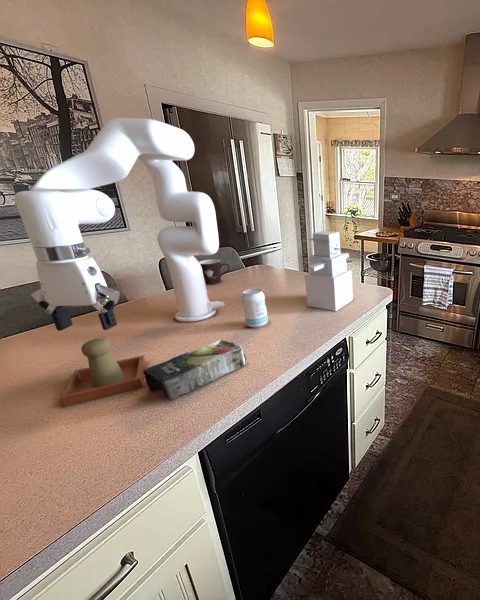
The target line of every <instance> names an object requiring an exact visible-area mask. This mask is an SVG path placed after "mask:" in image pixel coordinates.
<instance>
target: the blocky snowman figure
mask: <svg viewBox="0 0 480 600" xmlns="http://www.w3.org/2000/svg"><path fill="white" fill-rule="evenodd" d="M306 241H311V242H312V244H313V255H309V256H308V266H307V267H308V268H307V271H309V272H307V273H305V274H304V282H305V292H306V302H307V307H312V308H316V309H322V310H327V311H334V312H337V311H338V310H340V309H342V308H343V307H345V306H346V305H348V304H350V303H351V302H352V301H354V294H353V293H354V291H353V290H354V289H353V271H352V269H348V267H347V264H348V263H347V259H348V258H350V253H348V252H343V253H342V252H341V237H340V231H332V230H321V231H316V232H313V233H312V237H310V238H307V239H306Z"/></svg>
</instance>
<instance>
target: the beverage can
mask: <svg viewBox="0 0 480 600" xmlns="http://www.w3.org/2000/svg"><path fill="white" fill-rule="evenodd" d="M241 303H242V307H243V308H242V310H243V315H244V321H245V325H246V326H247V327H250V328H253V329H255V328H257V329H258V328H260V327H263V326H265V325H266V324H267V323H268V321H269V319H268V311H267V305H266V304H267V303H266V297H265V294H264V292H263V291H262V289H260V288H249V289H245V290H244V291H242V294H241Z"/></svg>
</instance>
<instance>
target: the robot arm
mask: <svg viewBox="0 0 480 600" xmlns="http://www.w3.org/2000/svg"><path fill="white" fill-rule="evenodd" d="M194 154H195V144H194V141H193V139H192V138H191V136H190V134H188V133H187V132H186V131H185V130H184V129H182V128H179V127H176V126H174V125H171V124H169V123H167V122H166V123H165V122H163V121H160V120H157V119H152V118H141V117H139V118H137V117H136V118H135V117H115V118H111V119H109V120H107V121H106V122H105V123H104V124H103V126H102V127H101V128H100V130H99V131H98V133H96V136H95V137H94V138H93V140H92V141H91V142H90V143H89V145H88V146H87V148H86V149H85V150H84V151H83V152H81V153H78V154H76V155H74V156H72V157H70V158H68V159H66V160H64V161H62V162H60V163H58V164H56V165H55V166H52V167H51V168H49V169H48V170H47V171H45V172H44V173H43V174H42V175H41V176H40V177H39V178H38V180H37V181H36V182H35V184H34V185H33V186H32V188H31V189H30V190H22V191H18V192H16V193H15V194H14V202H15V205H16V207H17V211H18V213H19V215H20V218H21V221H22V223H23V226H24V228H25V231H26V233H27V236H28V239H29V241H30V244H31V247H32V250H33V252H34V254H35V257H36V262H35V263H36V264H35V265H36V273H37V278H38V282H39V285H40V288H39V289H38V290H36V291H34V292H32V293H31V297H32V298H33V299H34V300H35V301H36V302H37V303H38V305H39V307H41V308H43V309H44V310H45V313H47V314H48V315H51V318H52V321H53V324H54V326H55V328H56V330H57V331H59V332H60V331H64V330H66V329H68V328H70V327H71V326H73V324H74V323H73V321H72V318H71V316H70V313H69V310H68V309H67V308H65V307H87V306H88V307H89V306H90V307H91V306H92V307H93V308H94V309H96V310H97V311H99V312H100V313H98V318H99V321H100V325H101V327H102V330H104V331H108V330H110V329H112V328H114V327H115V326H117V325H118V322H117V318H116V316H115V312H114V310H115V309H116V306H117V305H118V304H119V302H120V301H119V299H120V296H121V292H120V291H118V290H116V289H113V288H112V287H108V285H107V283H106V280H105V278H104V275H103V273H102V271H101V269H100V267H99V266H98V264H97V261H96V260H95V259H94V258H93V257H92V256H89V254H90V253H91V250H90V248H89V247H86V245H85V243H84V238H83V236H82V234H81V233H82V232H81V230H80V227H79V226H80V225H99V224H104V223H107V222H109V221H110V220H111V219H112V218H113V217H114V215H115V213H116V207H115V206H116V205H115V203H114V201H113V199H111V197H109V196H108V195H107V194H105V193H104V192H102V191H100V190H96V189H95V188H99V187H103V186H108V185H111V184H113V183H117V182H119V181H122V180H124V179H126V178H127V177H128V175H129V174H130V172H131V170H132V168H133V166H134V165H135V164H136V162H137V160H138V159H139V160H140V161H141V163H143V164H144V166H145V167H146V168H147V169H148V171H149V173H150V175H151V177H152V182H153V187H154V192H155V199H156V205H157V209H158V213H159V215H160V217H161V219H163V220H164V221H168V222H173V223H195V224H196V226H195V225H194V226H193V225H191V226H189V225H172V226H166V227H163V228H161V230H159V232H158V233H157V237H156V240H157V244H158V246H159V249H160V251H161V253H162V255H163V257H164V260H165V262H166V266H167V269H168V273H169V276H170V280H171V283H172V284H171V285H172V288H173V292H174V296H175V301H176V304H177V308H178V312H176V313H175V314H174V318H175V320H176V321H178V322H182V323H191V322H198V321H202V320H206V319H209V318H210V317H213V316H214V315H215V314H216V312H217V310H216V309H217V308H223V307H225V302H224V301H220V300H216V301H212V300H211V299H210V298H209V295H208V291H207V284H206V283H205V280H204V276H203V271H202V267H201V265H200V263H199V262H200V261H199V260H198V259H197V257H195V256H212V255H215V254H216V253H218V251H219V248H220V239H219V231H218V222H217V215H216V209H215V205H214V202H213V200H212V198H211V197H210V196H209V195H208V194H206V193H205V192H202V191H189V190H188V189H187V183H186V178H185V175H184V172H183V171H182V170H181V168H180V167H179V166H178V165H177V164H176V163H175V162H174V161H189V160H191V159H192V158H193V157H194Z"/></svg>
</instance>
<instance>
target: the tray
mask: <svg viewBox="0 0 480 600" xmlns="http://www.w3.org/2000/svg"><path fill="white" fill-rule="evenodd" d="M116 361H117V363H118V365H119V367H120V368H121V370H122V372H123V374H124V375H125V378H124V380H123V381H121V382H117V383H113V384H109V385H105V386H101V387H97V388H93V386H92V380H91V374H90V368H89V366H88V367H84V368H80V369H76V370H74V371H73V373H72V375H71V377H70V379H69V381H68V383H67V385H66V387H65V389H64V392H63V393H62V395H61V397H60V399H61V401H62V403H63V405H64V407H65V408H66V407H70V406H74V405H79V404H81V403H86V402H89V401H93V400H94V401H95V400H97V399H102V398H106V397H109V396H112V395H116V394H120V393H124V392H129V391H132V390H135V389H140V388H143V385H144V378H145V375H144V373H143V371H144V370H146V365H147V361H146V359H145V355H143V354H142V355H139V356H134V357H129V358H126V359H120V360H116Z"/></svg>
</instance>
